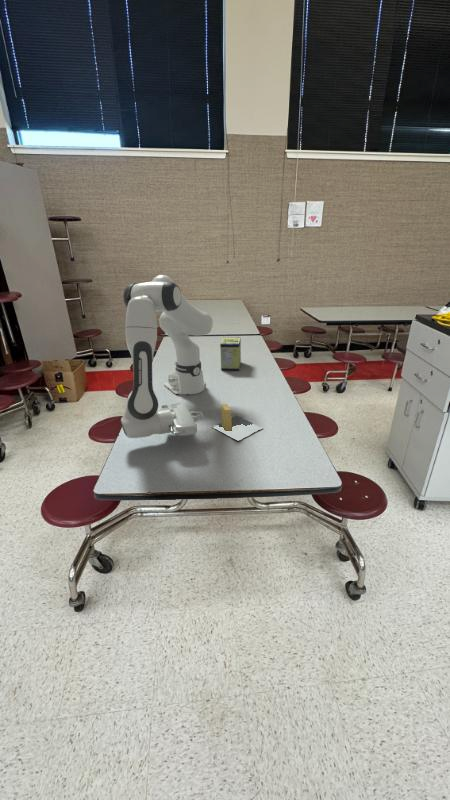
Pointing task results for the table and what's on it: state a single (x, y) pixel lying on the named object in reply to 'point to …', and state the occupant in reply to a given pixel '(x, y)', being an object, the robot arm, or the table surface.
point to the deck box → (226, 417)
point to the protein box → (230, 353)
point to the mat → (238, 421)
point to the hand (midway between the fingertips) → (202, 414)
